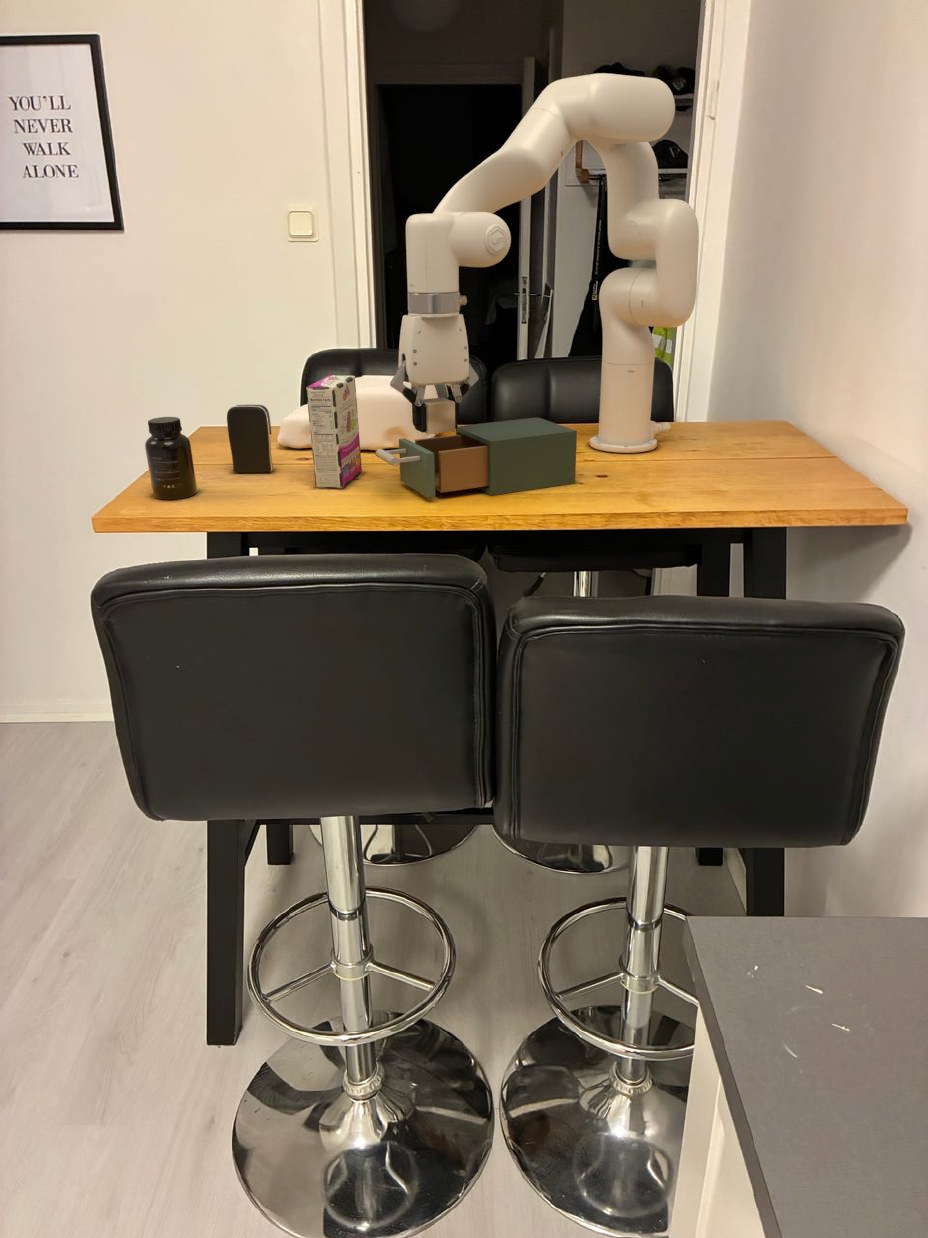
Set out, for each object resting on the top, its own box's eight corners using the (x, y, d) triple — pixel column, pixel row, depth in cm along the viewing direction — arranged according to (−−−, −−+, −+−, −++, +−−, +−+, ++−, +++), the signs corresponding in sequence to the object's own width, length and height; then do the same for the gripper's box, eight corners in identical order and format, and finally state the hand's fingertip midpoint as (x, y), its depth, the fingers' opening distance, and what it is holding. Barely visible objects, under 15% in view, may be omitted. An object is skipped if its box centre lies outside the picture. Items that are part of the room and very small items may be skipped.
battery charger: (277, 468, 159) (270, 402, 155) (271, 473, 156) (265, 406, 151) (237, 468, 160) (230, 402, 155) (231, 473, 156) (224, 406, 151)
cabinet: (490, 495, 142) (490, 441, 138) (456, 477, 152) (455, 426, 149) (575, 483, 148) (577, 430, 144) (536, 466, 158) (537, 417, 155)
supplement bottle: (158, 489, 147) (147, 415, 142) (200, 488, 148) (191, 414, 143) (148, 501, 141) (136, 424, 136) (193, 499, 141) (182, 423, 137)
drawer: (398, 502, 136) (396, 457, 133) (372, 484, 145) (369, 442, 142) (511, 485, 143) (512, 443, 141) (479, 469, 153) (479, 429, 150)
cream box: (443, 426, 143) (442, 397, 141) (455, 431, 139) (455, 401, 138) (417, 428, 141) (416, 399, 140) (428, 434, 138) (428, 404, 136)
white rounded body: (427, 455, 167) (425, 381, 161) (273, 450, 172) (266, 378, 166) (448, 433, 184) (447, 365, 178) (308, 429, 189) (302, 363, 184)
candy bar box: (335, 471, 157) (328, 374, 150) (362, 472, 156) (356, 375, 149) (313, 488, 147) (304, 385, 140) (342, 489, 146) (335, 386, 139)
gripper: (473, 301, 139) (474, 419, 147) (370, 305, 133) (376, 430, 140) (496, 304, 133) (495, 428, 141) (389, 309, 127) (394, 439, 134)
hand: (436, 427), depth 140 cm, fingers closed on cream box, 4 cm apart
